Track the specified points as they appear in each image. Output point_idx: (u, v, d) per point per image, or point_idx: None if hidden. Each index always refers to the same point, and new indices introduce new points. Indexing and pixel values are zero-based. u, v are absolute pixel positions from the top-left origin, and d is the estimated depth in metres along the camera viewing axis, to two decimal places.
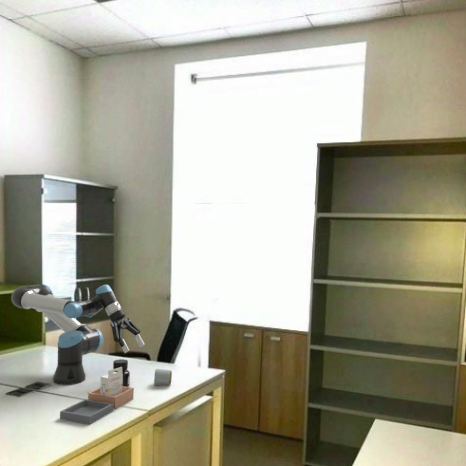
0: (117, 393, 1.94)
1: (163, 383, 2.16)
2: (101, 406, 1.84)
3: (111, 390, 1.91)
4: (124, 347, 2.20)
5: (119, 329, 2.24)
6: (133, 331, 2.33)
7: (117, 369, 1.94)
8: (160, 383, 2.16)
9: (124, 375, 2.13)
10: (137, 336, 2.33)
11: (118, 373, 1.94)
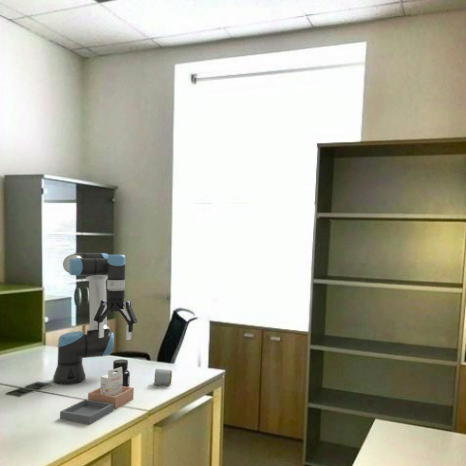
0: (117, 393, 1.94)
1: (163, 383, 2.17)
2: (101, 406, 1.84)
3: (111, 390, 1.91)
4: None
5: None
6: None
7: (117, 369, 1.94)
8: (160, 383, 2.16)
9: (124, 375, 2.13)
10: None
11: (118, 373, 1.94)
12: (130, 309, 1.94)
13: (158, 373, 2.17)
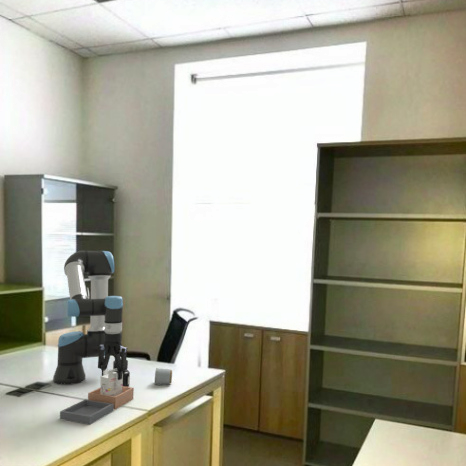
0: (117, 393, 1.94)
1: (163, 382, 2.17)
2: (101, 406, 1.84)
3: (111, 390, 1.91)
4: None
5: None
6: None
7: None
8: (160, 382, 2.17)
9: (124, 375, 2.13)
10: None
11: None
12: (124, 356, 1.92)
13: (158, 372, 2.18)
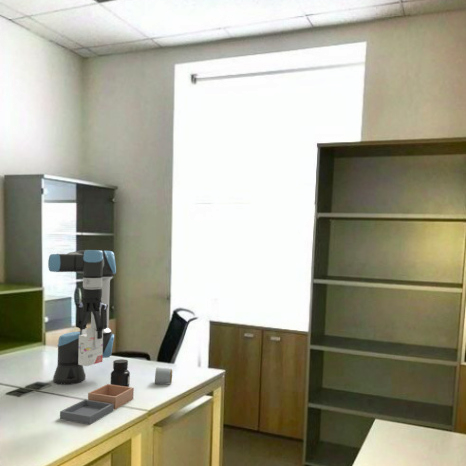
0: (97, 353, 1.80)
1: (164, 382, 2.19)
2: (101, 406, 1.84)
3: (89, 349, 1.77)
4: None
5: None
6: None
7: None
8: (161, 382, 2.18)
9: (124, 375, 2.13)
10: None
11: None
12: (104, 313, 1.78)
13: (159, 372, 2.19)
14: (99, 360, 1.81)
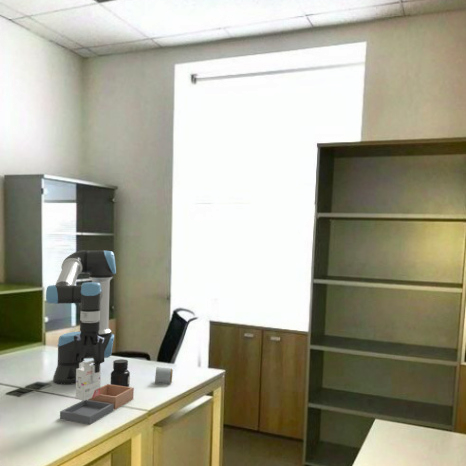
0: (95, 387, 1.79)
1: (164, 381, 2.19)
2: (101, 406, 1.84)
3: (87, 383, 1.76)
4: None
5: None
6: None
7: None
8: (161, 381, 2.19)
9: (124, 375, 2.13)
10: None
11: None
12: (102, 347, 1.77)
13: (159, 371, 2.19)
14: (97, 393, 1.80)
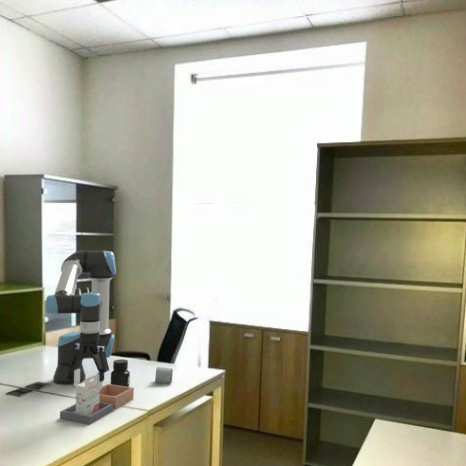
0: (94, 402, 1.79)
1: (164, 381, 2.20)
2: (101, 406, 1.84)
3: (88, 399, 1.76)
4: None
5: None
6: None
7: (94, 377, 1.80)
8: (161, 381, 2.20)
9: (124, 375, 2.13)
10: None
11: (95, 381, 1.80)
12: (103, 356, 1.77)
13: (159, 371, 2.20)
14: (96, 409, 1.80)
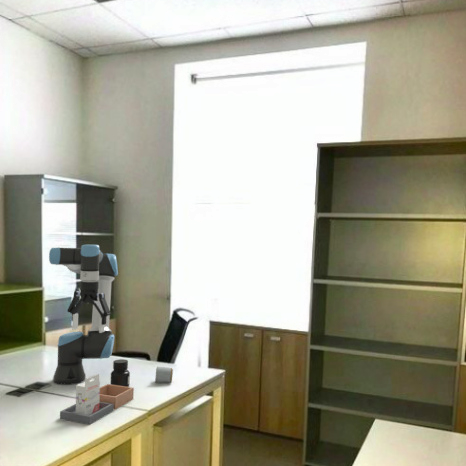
0: (94, 402, 1.79)
1: (164, 380, 2.20)
2: (101, 406, 1.84)
3: (88, 399, 1.76)
4: None
5: None
6: None
7: (94, 377, 1.80)
8: (161, 380, 2.20)
9: (124, 375, 2.13)
10: None
11: (95, 381, 1.80)
12: (103, 301, 1.88)
13: (159, 371, 2.21)
14: (96, 409, 1.80)
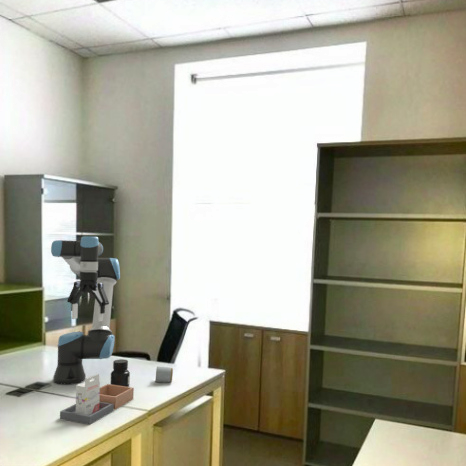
0: (94, 402, 1.79)
1: (164, 380, 2.21)
2: (101, 406, 1.84)
3: (88, 399, 1.76)
4: None
5: None
6: None
7: (94, 377, 1.80)
8: (161, 380, 2.21)
9: (124, 375, 2.13)
10: None
11: (95, 381, 1.80)
12: (102, 291, 1.95)
13: (159, 370, 2.21)
14: (96, 409, 1.80)
